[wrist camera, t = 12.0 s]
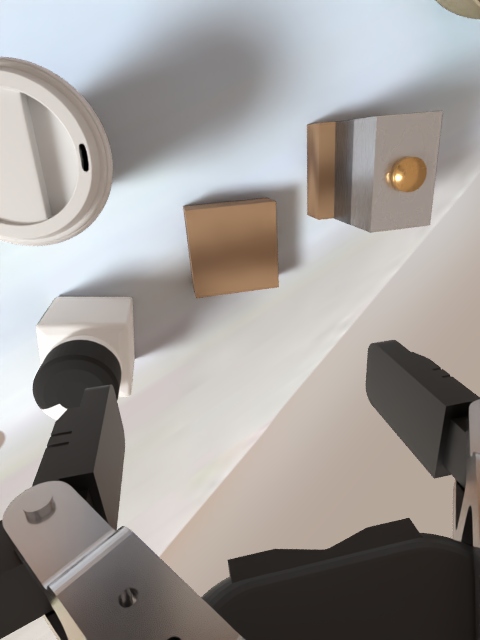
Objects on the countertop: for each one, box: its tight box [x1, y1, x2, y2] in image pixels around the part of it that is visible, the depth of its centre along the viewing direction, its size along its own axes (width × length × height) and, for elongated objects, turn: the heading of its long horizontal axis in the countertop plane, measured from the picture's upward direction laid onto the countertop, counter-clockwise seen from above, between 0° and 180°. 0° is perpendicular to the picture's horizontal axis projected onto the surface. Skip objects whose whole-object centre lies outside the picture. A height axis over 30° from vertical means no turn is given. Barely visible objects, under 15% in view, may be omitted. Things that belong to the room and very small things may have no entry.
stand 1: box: [183, 198, 279, 298], centre depth 38 cm, size 8×8×3 cm
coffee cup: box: [0, 57, 113, 246], centre depth 27 cm, size 10×10×15 cm
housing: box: [334, 111, 443, 233], centre depth 32 cm, size 8×5×8 cm, turn 5°
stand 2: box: [307, 121, 341, 220], centre depth 37 cm, size 8×8×3 cm
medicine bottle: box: [33, 297, 135, 420], centre depth 35 cm, size 7×7×12 cm
